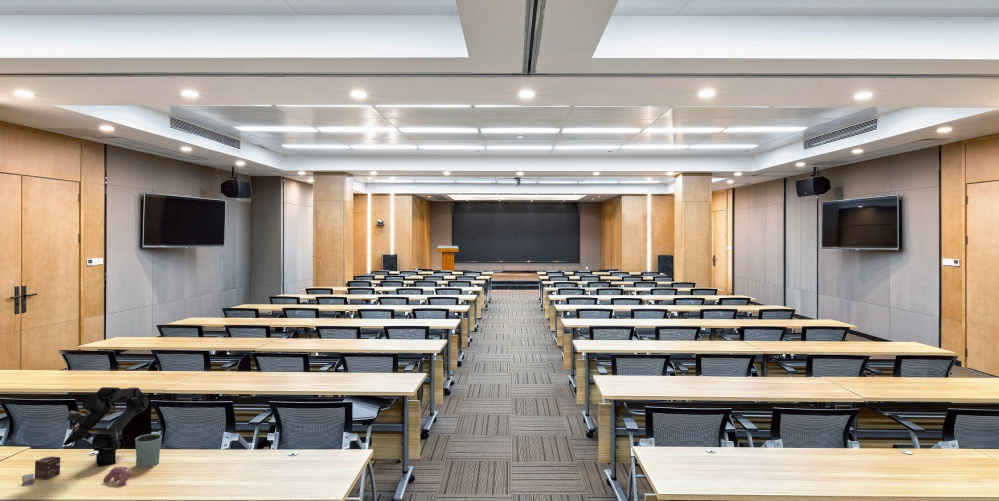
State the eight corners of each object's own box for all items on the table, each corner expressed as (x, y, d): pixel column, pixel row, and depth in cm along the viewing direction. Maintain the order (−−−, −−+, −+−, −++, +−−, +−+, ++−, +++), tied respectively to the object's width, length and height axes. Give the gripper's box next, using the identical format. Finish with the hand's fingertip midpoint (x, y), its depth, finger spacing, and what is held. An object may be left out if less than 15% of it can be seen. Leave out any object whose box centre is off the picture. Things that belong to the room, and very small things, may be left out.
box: (45, 480, 226) (46, 462, 227) (33, 478, 228) (34, 460, 228) (60, 474, 232) (60, 457, 233) (48, 473, 234) (49, 455, 234)
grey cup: (155, 458, 253) (156, 432, 253) (165, 463, 247) (166, 437, 247) (130, 465, 245) (131, 437, 245) (140, 470, 239) (140, 442, 239)
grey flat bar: (33, 474, 232) (33, 473, 232) (33, 483, 223) (33, 483, 223) (23, 476, 230) (23, 475, 230) (23, 485, 221) (23, 485, 221)
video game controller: (128, 487, 226) (136, 468, 229) (118, 485, 222) (126, 467, 225) (110, 483, 229) (118, 465, 232) (101, 482, 225) (109, 464, 228)
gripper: (79, 398, 244) (46, 428, 237) (82, 408, 230) (47, 440, 223) (100, 413, 249) (69, 442, 242) (105, 424, 235) (71, 455, 228)
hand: (64, 445), depth 234 cm, fingers closed
